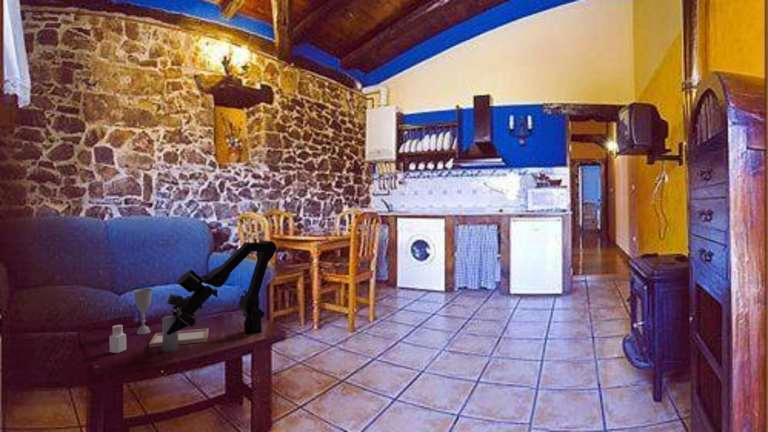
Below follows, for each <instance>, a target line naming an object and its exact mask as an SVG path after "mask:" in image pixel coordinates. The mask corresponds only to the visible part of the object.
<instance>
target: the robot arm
mask: <svg viewBox="0 0 768 432" xmlns="http://www.w3.org/2000/svg"><path fill="white" fill-rule="evenodd" d="M277 248H278V247H277V245H276V243H275V242H274V241H272V240H261V241H259V242H250V241H249V242H248V241H246V242H243V244H242V245H241V246H240V247H239V248H238V249H237V250H236V251H235V252H234V253H233V254H232V255H231V256H230V257H229V258H227V260H226V261H224V262H223V263H222V264H221V265H219V266H217V267H215V268H213V269H212V270H211V271H209V272H207V274H206V275H201V276H199V275H198V274H197V273H196V272H195V270H193V269H190V270H189V271H187V272H185V273H184V274H182V275H181V276H180V277H179V278H178V280H177V284H178V285H179V286H180V287H182V288H183V289H184V290H185V291H187V292H188V293H191V292H192V294H191V295H187V296H186V297H183V296H182V295H179V294H177V295H176V294H173V293H170V295H169V296H168V299H167V301H166V302H167V304H168V305H170V306H171V308H172V309H171V314H172V315H171V316H175V322H174V323H173V324H172V326H171V327H170V328H169V330H168V331H167V333H166V334H167V335H170V334H172V333H174V332H176V331H181V330H183V329H184V328H187V327H191V328H192V327H193V326H195V325H196V318H195V316H196V315H195V314H196V313H197V312H198V310H199V309H200V310H201V309H203V305H204V304H205V303H206V302H207V301H208V300H209V298H210V297H212V296H214V298H218V291H219V290H217V289H216V288H221V287H222V286H224V285H225V283H226V282H227V281H228V279H229V277H230V275H231V273H232V272H233V271H234V270H235V269H236V268H237V267H238V266H239V265H240V264H241V263H242V262H243V261H244V260H245V259H246V258H247V257H248V256H249V255H250V254H251V253H253V252H256V263H255V266H254V269H253V274H252V276H251V279H250V283H249V286H248V289H247V292H246V293H245V294H244V295H242V294H241V295H240V298H239V299H240V300H239V302H238V309H239V311H240V312H241V313H242V315H243V316H244V317H245V320H243V327H244V329H243V330H244V332H245V334H246V335H247V334H256V333H257V334H258V333H262V331H263V330H262V319H263V318H264V315H265V311H263V310H262V309H261V308H260V303H261V302H260V292H261V289H262V286H263V283H264V278H265V274H266V271H267V268H268V265H269V262H270V261H271V260H272V259H273V257H274V256H275V253H276V252H277ZM203 284H206V285H203ZM212 287H214V289H213V288H212Z"/></svg>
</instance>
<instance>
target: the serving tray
mask: <svg viewBox="0 0 768 432" xmlns="http://www.w3.org/2000/svg"><path fill="white" fill-rule="evenodd" d="M209 332H210V328H209V327H207V328H200V329H199V328H198V329H187V330H178V346H179V345H188V344H189V345H190V344H196V343H197V344H198V343H206V342H207V341H208V337H209ZM158 347H159V348H161V347H163V332H156V333H155V334H154V335H153V337H152V338H151V339H150V341H149V343H148V348H158Z"/></svg>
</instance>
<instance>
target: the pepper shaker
mask: <svg viewBox="0 0 768 432" xmlns="http://www.w3.org/2000/svg"><path fill="white" fill-rule="evenodd" d="M123 326H124V325H122V324H116V325H113V326H112V334H110V336H109V339H108V340H109V341H108V342H109V352H110V353H113V354H119V353H121V352H124V351H126V350H127V334H126V333H124V331H123V329H124V328H123Z"/></svg>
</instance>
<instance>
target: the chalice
mask: <svg viewBox="0 0 768 432" xmlns="http://www.w3.org/2000/svg"><path fill="white" fill-rule="evenodd" d="M152 291H153V288H149V287H148V288H146V287H145V288H138V289H134V290H133V291H132V292H133V294H134V304H135V307H136V309H137V310H138V311H139V312H140V313H141V317H140V318H141V321H140V322H141V326H139V328H138V330H137V332H136V334H137V335H146V334H149V333H151V330H150V327H149V326H148V325H145V324H146V322H147V320H146V314H145V312H147V311H148V309H149V307H150V306H151V303H152Z"/></svg>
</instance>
